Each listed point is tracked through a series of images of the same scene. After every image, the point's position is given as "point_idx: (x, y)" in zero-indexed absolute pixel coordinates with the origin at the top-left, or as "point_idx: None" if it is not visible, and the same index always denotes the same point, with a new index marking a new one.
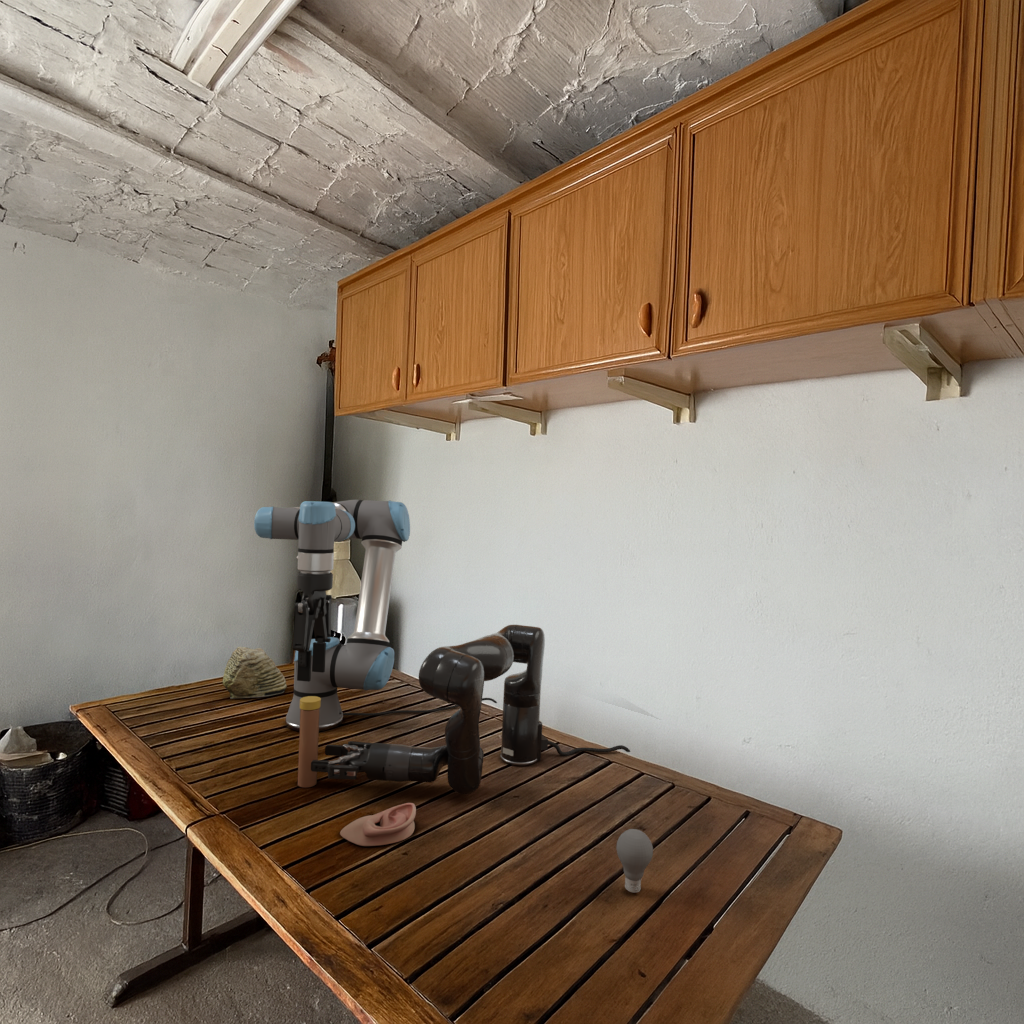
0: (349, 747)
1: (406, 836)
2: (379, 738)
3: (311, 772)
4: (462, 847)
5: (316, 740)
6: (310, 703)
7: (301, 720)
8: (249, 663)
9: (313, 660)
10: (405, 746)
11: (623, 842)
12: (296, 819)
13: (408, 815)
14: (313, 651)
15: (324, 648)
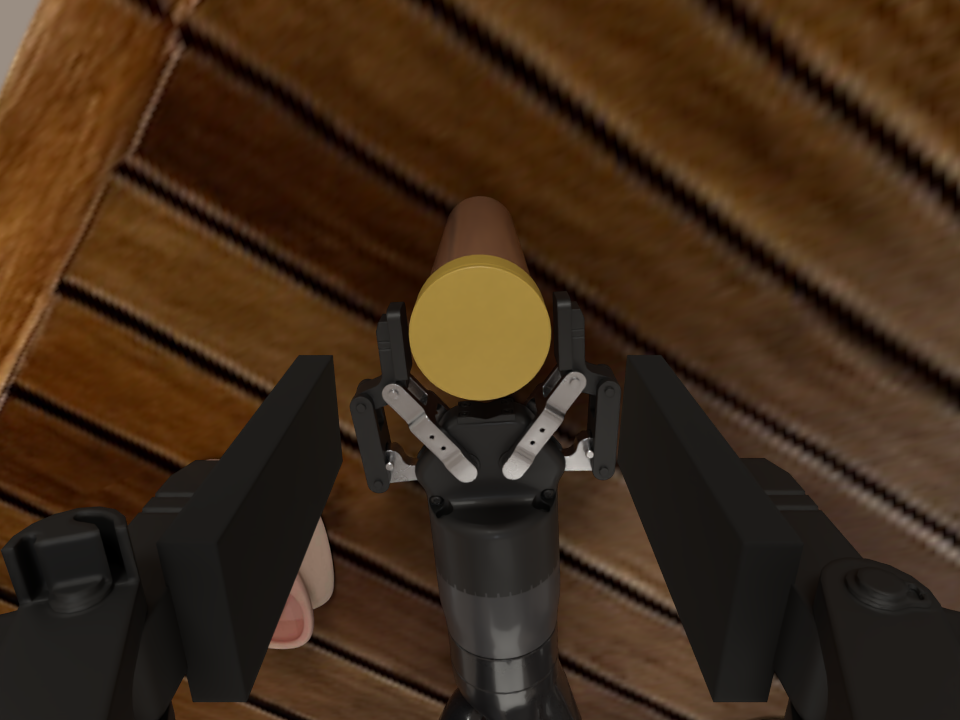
0: (540, 413)
1: None
2: (936, 336)
3: None
4: (259, 706)
5: None
6: (417, 362)
7: (433, 270)
8: None
9: (655, 417)
10: (504, 640)
11: None
12: (238, 309)
13: (283, 622)
14: (693, 471)
15: (692, 642)
